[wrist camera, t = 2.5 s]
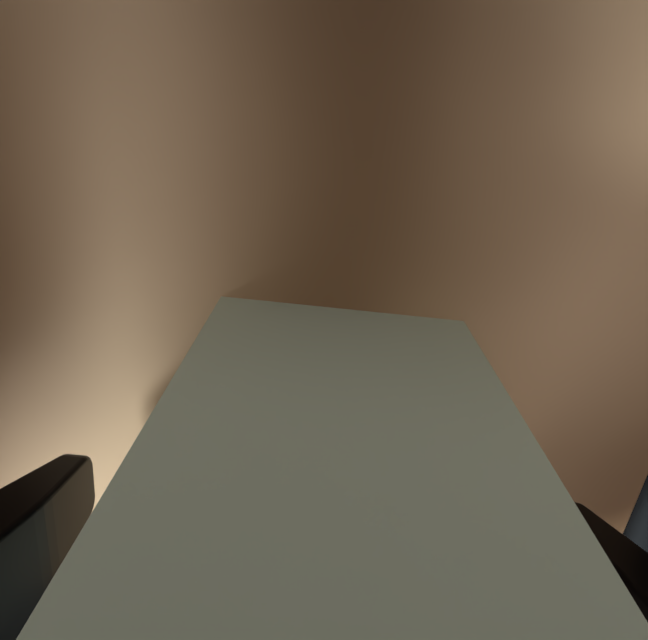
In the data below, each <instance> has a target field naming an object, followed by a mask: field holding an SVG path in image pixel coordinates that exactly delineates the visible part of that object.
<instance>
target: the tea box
mask: <svg viewBox="0 0 648 640" xmlns="http://www.w3.org/2000/svg"><path fill="white" fill-rule="evenodd" d="M16 640H648V622H647V620H646V619H645V617H644V615H643V614H642V612H641V611H640V609H639V607H638V606H637V604H636V602H635V601H634V599H633V597H632V596H631V594H630V592H629V591H628V589H627V588H626V586H625V584H624V583H623V581H622V579H621V578H620V576H619V574H618V573H617V571H616V570H615V568H614V566H613V565H612V563H611V561H610V560H609V558H608V556H607V555H606V553H605V552H604V550H603V548H602V547H601V545H600V543H599V542H598V540H597V538H596V537H595V535H594V534H593V532H592V530H591V529H590V527H589V525H588V524H587V522H586V520H585V519H584V517H583V515H582V514H581V512H580V511H579V509H578V507H577V506H576V504H575V502H574V501H573V499H572V497H571V496H570V494H569V493H568V491H567V489H566V488H565V486H564V484H563V483H562V481H561V479H560V478H559V476H558V475H557V473H556V471H555V470H554V468H553V466H552V465H551V463H550V461H549V460H548V458H547V457H546V455H545V453H544V452H543V450H542V448H541V447H540V445H539V443H538V442H537V440H536V438H535V437H534V435H533V434H532V432H531V430H530V429H529V427H528V425H527V424H526V422H525V420H524V419H523V417H522V416H521V414H520V412H519V411H518V409H517V407H516V406H515V404H514V402H513V401H512V399H511V398H510V396H509V394H508V393H507V391H506V389H505V388H504V386H503V384H502V383H501V381H500V380H499V378H498V376H497V375H496V373H495V371H494V370H493V368H492V366H491V365H490V363H489V362H488V360H487V358H486V357H485V355H484V353H483V352H482V350H481V348H480V347H479V345H478V343H477V342H476V340H475V339H474V337H473V335H472V334H471V332H470V330H469V329H468V327H467V325H466V324H465V322H464V321H459V320H449V319H439V318H429V317H419V316H409V315H400V314H390V313H380V312H370V311H360V310H351V309H341V308H331V307H321V306H311V305H301V304H292V303H282V302H272V301H262V300H252V299H243V298H233V297H223V296H221V298H220V299H219V301H218V303H217V304H216V306H215V308H214V309H213V311H212V313H211V314H210V316H209V318H208V319H207V321H206V323H205V324H204V326H203V328H202V329H201V331H200V333H199V334H198V336H197V338H196V339H195V341H194V343H193V344H192V346H191V348H190V349H189V351H188V353H187V354H186V356H185V358H184V359H183V361H182V363H181V364H180V366H179V368H178V369H177V371H176V373H175V374H174V376H173V378H172V379H171V381H170V383H169V385H168V386H167V388H166V390H165V391H164V393H163V395H162V396H161V398H160V400H159V401H158V403H157V405H156V406H155V408H154V410H153V411H152V413H151V415H150V416H149V418H148V420H147V421H146V423H145V425H144V426H143V428H142V430H141V431H140V433H139V435H138V436H137V438H136V440H135V441H134V443H133V445H132V446H131V448H130V450H129V451H128V453H127V455H126V456H125V458H124V460H123V461H122V463H121V465H120V466H119V468H118V470H117V471H116V473H115V475H114V476H113V478H112V480H111V481H110V483H109V485H108V486H107V488H106V490H105V492H104V493H103V495H102V497H101V498H100V500H99V502H98V503H97V505H96V507H95V508H94V510H93V512H92V513H91V515H90V517H89V518H88V520H87V522H86V523H85V525H84V527H83V528H82V530H81V532H80V533H79V535H78V537H77V538H76V540H75V542H74V543H73V545H72V547H71V548H70V550H69V552H68V553H67V555H66V557H65V558H64V560H63V562H62V563H61V565H60V567H59V568H58V570H57V572H56V573H55V575H54V577H53V578H52V580H51V582H50V583H49V585H48V587H47V588H46V590H45V592H44V593H43V595H42V597H41V599H40V600H39V602H38V604H37V605H36V607H35V609H34V610H33V612H32V614H31V615H30V617H29V619H28V620H27V622H26V624H25V625H24V627H23V629H22V630H21V632H20V634H19V635H18V637H17V639H16Z"/></svg>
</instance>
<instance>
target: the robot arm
mask: <svg viewBox="0 0 648 640" xmlns="http://www.w3.org/2000/svg"><path fill="white" fill-rule="evenodd" d="M94 502H95V488H94V475H93V464H92V460H91V458H90V457H88V456H86V455H76V454H63V455H61V456H59V457H57V458H55V459H53V460H52V461H50V462H48V463H46V464H44V465H43V466H41V467H39V468H37V469H35V470H33V471H32V472H30V473H28V474H26V475H24V476H22V477H21V478H19V479H17V480H15V481H13V482H11V483H10V484H8V485H6V486H4V487H2V488H0V640H16V639H17V637H18V635H19V634H20V632H21V630H22V629H23V627H24V625H25V624H26V622H27V620H28V619H29V617H30V615H31V614H32V612H33V610H34V609H35V607H36V605H37V604H38V602H39V600H40V599H41V597H42V595H43V593H44V592H45V590H46V588H47V587H48V585H49V583H50V582H51V580H52V578H53V577H54V575H55V573H56V572H57V570H58V568H59V567H60V565H61V563H62V562H63V560H64V558H65V557H66V555H67V553H68V552H69V550H70V548H71V547H72V545H73V543H74V542H75V540H76V538H77V537H78V535H79V533H80V532H81V530H82V528H83V527H84V525H85V523H86V522H87V520H88V518H89V517H90V515H91V513H92V510H93V507H94ZM575 504H576V506H577V507H578V509H579V511H580V512H581V514H582V515H583V517H584V519H585V520H586V522H587V524H588V525H589V527H590V529H591V530H592V532H593V534H594V535H595V537H596V538H597V540H598V542H599V543H600V545H601V547H602V548H603V550H604V552H605V553H606V555H607V556H608V558H609V560H610V561H611V563H612V565H613V566H614V568H615V570H616V571H617V573H618V574H619V576H620V578H621V579H622V581H623V583H624V584H625V586H626V588H627V589H628V591H629V592H630V594H631V596H632V597H633V599H634V601H635V602H636V604H637V606H638V607H639V609H640V611H641V612H642V614H643V615H644V617H645V619H646V620H647V622H648V553H647V552H646V551H645V550H643V549H642V548H641V547H639V546H638V545H636V544H635V543H634V542H632V541H631V540H630V539H628V538H627V537H626V536H624V535H623V534H622V533H620V532H619V531H618V530H616V529H615V528H614V527H612V526H611V525H610V524H608V523H607V522H606V521H604V520H603V519H602V518H600V517H599V516H598V515H596V514H595V513H594V512H592V511H591V510H590V509H588V508H587V507H585V506H584V505H583V504H581V503H577V502H575Z"/></svg>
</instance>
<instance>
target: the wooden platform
mask: <svg viewBox="0 0 648 640" xmlns="http://www.w3.org/2000/svg"><path fill="white" fill-rule="evenodd" d="M221 296H223V297H233V298H243V299H252V300H262V301H272V302H282V303H292V304H301V305H311V306H321V307H331V308H341V309H351V310H360V311H370V312H380V313H390V314H400V315H409V316H419V317H429V318H439V319H449V320H459V321H464V322H465V324H466V325H467V327H468V329H469V330H470V332H471V334H472V335H473V337H474V339H475V340H476V342H477V343H478V345H479V347H480V348H481V350H482V352H483V353H484V355H485V357H486V358H487V360H488V362H489V363H490V365H491V366H492V368H493V370H494V371H495V373H496V375H497V376H498V378H499V380H500V381H501V383H502V384H503V386H504V388H505V389H506V391H507V393H508V394H509V396H510V398H511V399H512V401H513V402H514V404H515V406H516V407H517V409H518V411H519V412H520V414H521V416H522V417H523V419H524V420H525V422H526V424H527V425H528V427H529V429H530V430H531V432H532V434H533V435H534V437H535V438H536V440H537V442H538V443H539V445H540V447H541V448H542V450H543V452H544V453H545V455H546V457H547V458H548V460H549V461H550V463H551V465H552V466H553V468H554V470H555V471H556V473H557V475H558V476H559V478H560V479H561V481H562V483H563V484H564V486H565V488H566V489H567V491H568V493H569V494H570V496H571V497H572V499H573V501H574V502H577V503H581V504H583V505H584V506H585V507H587V508H588V509H590V510H591V511H592V512H594V513H595V514H596V515H598V516H599V517H600V518H602V519H603V520H604V521H606V522H607V523H608V524H610V525H611V526H612V527H614V528H615V529H616V530H618V531H619V532H620V533H622V534H623V532H624V530H625V527H626V525H627V523H628V520H629V518H630V515H631V513H632V511H633V508H634V506H635V503H636V501H637V499H638V496H639V494H640V491H641V489H642V487H643V484H644V482H645V479H646V477H647V475H648V0H0V488H2V487H4V486H6V485H8V484H10V483H11V482H13V481H15V480H17V479H19V478H21V477H22V476H24V475H26V474H28V473H30V472H32V471H33V470H35V469H37V468H39V467H41V466H43V465H44V464H46V463H48V462H50V461H52V460H53V459H55V458H57V457H59V456H61V455H63V454H76V455H86V456H88V457H90V458H91V460H92V464H93V475H94V488H95V502H94V507H93V510H94V508H95V507H96V505H97V503H98V502H99V500H100V498H101V497H102V495H103V493H104V492H105V490H106V488H107V486H108V485H109V483H110V481H111V480H112V478H113V476H114V475H115V473H116V471H117V470H118V468H119V466H120V465H121V463H122V461H123V460H124V458H125V456H126V455H127V453H128V451H129V450H130V448H131V446H132V445H133V443H134V441H135V440H136V438H137V436H138V435H139V433H140V431H141V430H142V428H143V426H144V425H145V423H146V421H147V420H148V418H149V416H150V415H151V413H152V411H153V410H154V408H155V406H156V405H157V403H158V401H159V400H160V398H161V396H162V395H163V393H164V391H165V390H166V388H167V386H168V385H169V383H170V381H171V379H172V378H173V376H174V374H175V373H176V371H177V369H178V368H179V366H180V364H181V363H182V361H183V359H184V358H185V356H186V354H187V353H188V351H189V349H190V348H191V346H192V344H193V343H194V341H195V339H196V338H197V336H198V334H199V333H200V331H201V329H202V328H203V326H204V324H205V323H206V321H207V319H208V318H209V316H210V314H211V313H212V311H213V309H214V308H215V306H216V304H217V303H218V301H219V299H220V298H221ZM93 510H92V512H93Z"/></svg>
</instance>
